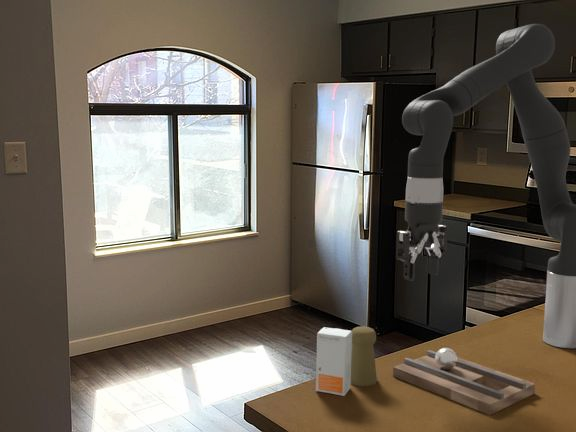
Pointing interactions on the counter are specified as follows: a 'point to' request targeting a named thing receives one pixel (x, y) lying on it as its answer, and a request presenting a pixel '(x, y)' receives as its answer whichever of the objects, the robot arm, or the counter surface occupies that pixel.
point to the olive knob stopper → (363, 357)
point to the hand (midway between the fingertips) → (421, 277)
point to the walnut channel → (465, 383)
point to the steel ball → (446, 358)
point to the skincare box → (333, 361)
